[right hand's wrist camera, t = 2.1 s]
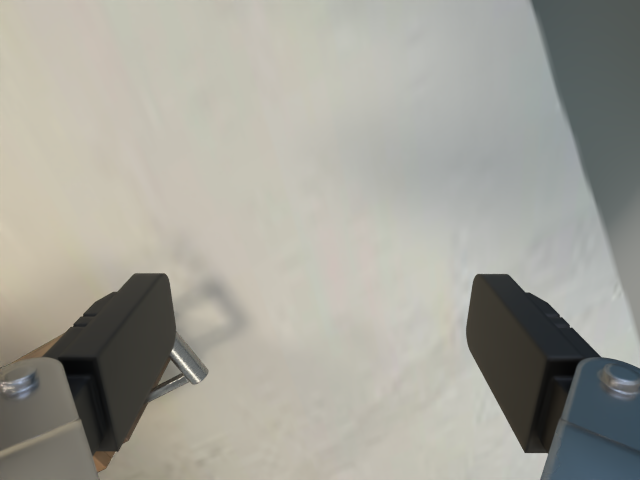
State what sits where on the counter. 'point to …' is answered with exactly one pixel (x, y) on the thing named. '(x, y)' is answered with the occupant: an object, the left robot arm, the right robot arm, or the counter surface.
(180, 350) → the drawer
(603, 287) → the counter surface
